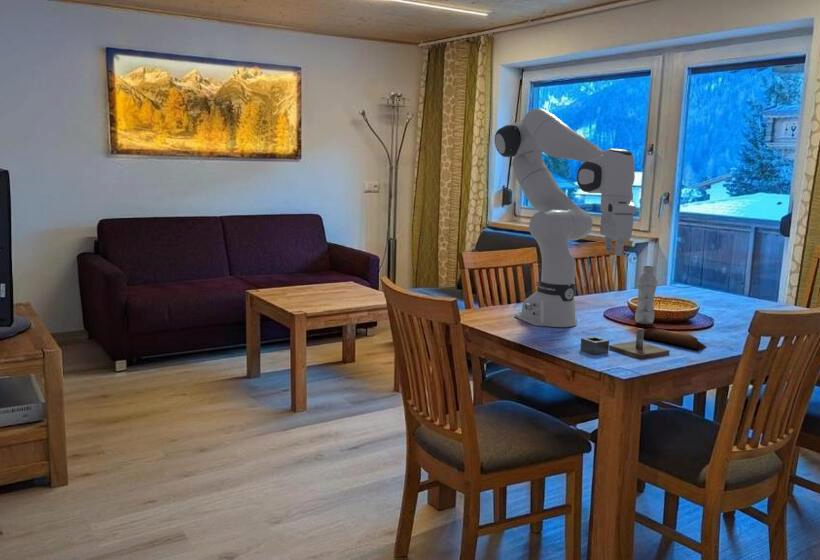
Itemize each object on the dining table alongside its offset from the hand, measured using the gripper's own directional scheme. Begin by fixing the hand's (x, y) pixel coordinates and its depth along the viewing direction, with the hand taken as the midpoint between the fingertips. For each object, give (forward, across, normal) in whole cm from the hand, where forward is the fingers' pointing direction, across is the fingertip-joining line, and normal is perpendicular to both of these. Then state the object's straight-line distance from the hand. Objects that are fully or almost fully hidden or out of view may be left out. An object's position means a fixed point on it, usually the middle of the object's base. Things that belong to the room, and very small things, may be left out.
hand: (613, 253), depth 208 cm
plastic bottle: (+28, -36, +22) cm, 50 cm away
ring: (+28, +3, -5) cm, 29 cm away
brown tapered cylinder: (+29, -10, +24) cm, 39 cm away
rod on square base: (+29, +2, +9) cm, 30 cm away
